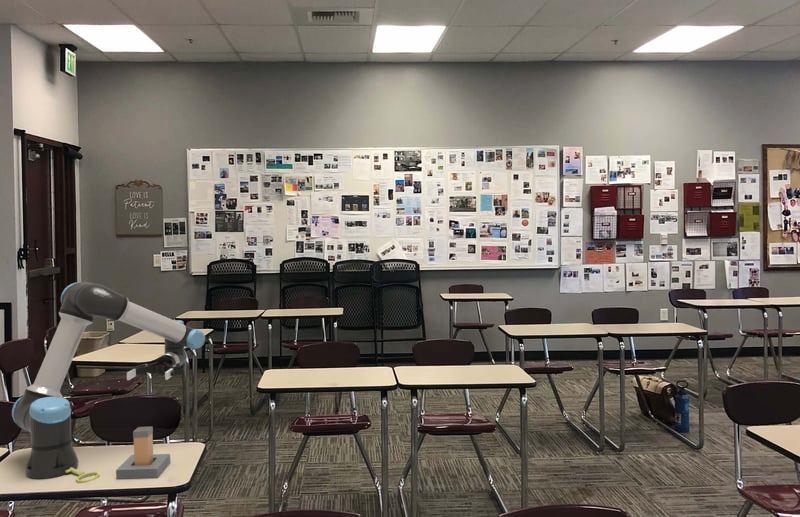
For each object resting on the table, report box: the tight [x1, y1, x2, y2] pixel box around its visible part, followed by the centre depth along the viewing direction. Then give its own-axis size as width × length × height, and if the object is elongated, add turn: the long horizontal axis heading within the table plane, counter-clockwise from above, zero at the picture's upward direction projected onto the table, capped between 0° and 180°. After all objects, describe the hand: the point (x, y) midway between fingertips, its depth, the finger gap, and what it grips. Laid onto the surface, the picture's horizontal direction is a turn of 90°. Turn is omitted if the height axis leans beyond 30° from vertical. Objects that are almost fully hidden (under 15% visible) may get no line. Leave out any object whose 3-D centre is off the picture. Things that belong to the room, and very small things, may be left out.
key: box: [65, 467, 101, 484], centre depth 198 cm, size 7×12×2 cm, turn 77°
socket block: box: [115, 453, 171, 480], centre depth 203 cm, size 13×13×3 cm
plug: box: [132, 426, 154, 466], centre depth 203 cm, size 5×5×14 cm
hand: (147, 376), depth 220 cm, fingers open, 13 cm apart
